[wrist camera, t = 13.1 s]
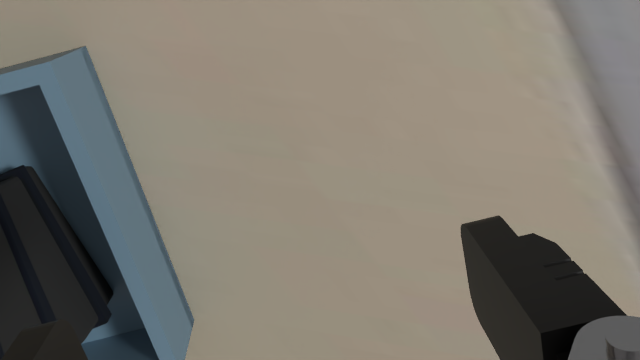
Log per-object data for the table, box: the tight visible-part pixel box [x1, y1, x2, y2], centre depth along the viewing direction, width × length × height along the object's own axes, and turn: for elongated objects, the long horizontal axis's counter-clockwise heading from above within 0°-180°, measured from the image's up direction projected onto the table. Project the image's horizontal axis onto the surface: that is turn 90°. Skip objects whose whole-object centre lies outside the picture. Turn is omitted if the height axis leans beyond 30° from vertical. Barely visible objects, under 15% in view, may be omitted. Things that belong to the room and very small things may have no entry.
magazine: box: [0, 165, 113, 359], centre depth 33 cm, size 4×13×15 cm, turn 22°
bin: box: [0, 46, 194, 360], centre depth 37 cm, size 21×14×6 cm, turn 14°
